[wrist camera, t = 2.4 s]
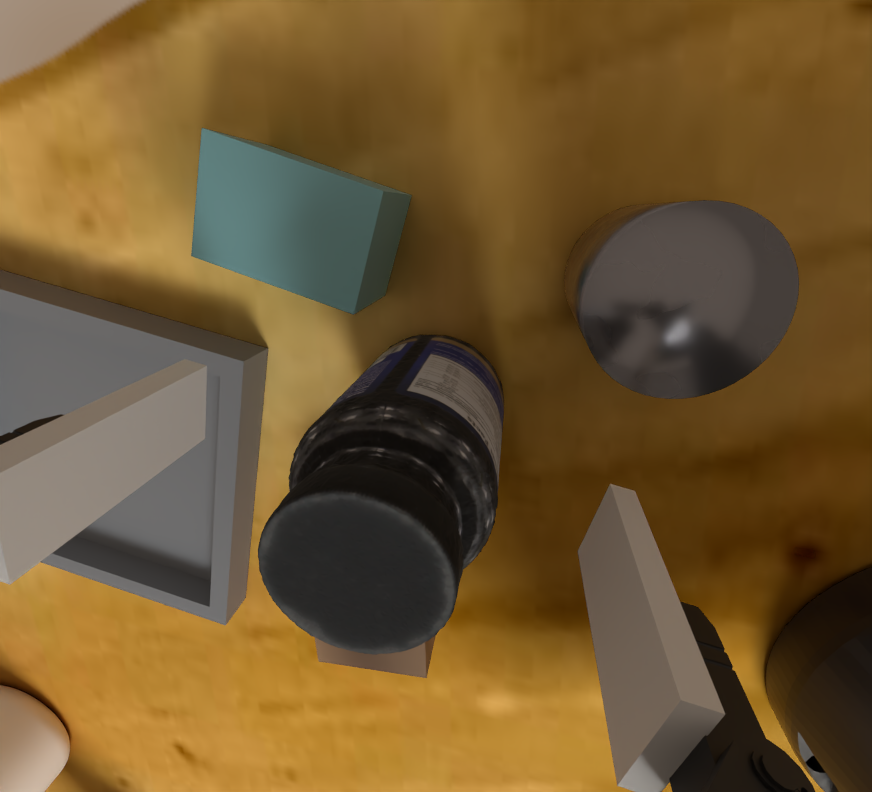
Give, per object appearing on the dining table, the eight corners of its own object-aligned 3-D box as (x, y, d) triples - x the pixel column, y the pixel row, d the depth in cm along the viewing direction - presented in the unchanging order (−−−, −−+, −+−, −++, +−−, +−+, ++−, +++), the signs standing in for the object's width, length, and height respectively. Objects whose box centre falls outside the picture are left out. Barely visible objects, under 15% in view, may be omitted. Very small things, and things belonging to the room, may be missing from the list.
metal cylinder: (733, 224, 16) (844, 231, 10) (670, 356, 18) (735, 420, 12) (592, 188, 16) (627, 176, 11) (546, 322, 18) (556, 369, 13)
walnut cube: (443, 513, 23) (422, 589, 18) (444, 591, 24) (426, 677, 20) (347, 504, 23) (304, 575, 19) (355, 580, 25) (318, 661, 21)
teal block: (412, 195, 18) (383, 191, 14) (386, 294, 19) (353, 314, 15) (267, 145, 18) (201, 127, 14) (253, 247, 19) (191, 255, 16)
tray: (268, 348, 21) (243, 361, 19) (245, 597, 27) (225, 625, 25) (-43, 257, 22) (-94, 261, 20) (6, 517, 28) (-30, 538, 27)
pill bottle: (383, 461, 22) (265, 671, 12) (357, 338, 20) (186, 468, 10) (512, 454, 21) (503, 685, 11) (499, 322, 19) (469, 453, 8)
